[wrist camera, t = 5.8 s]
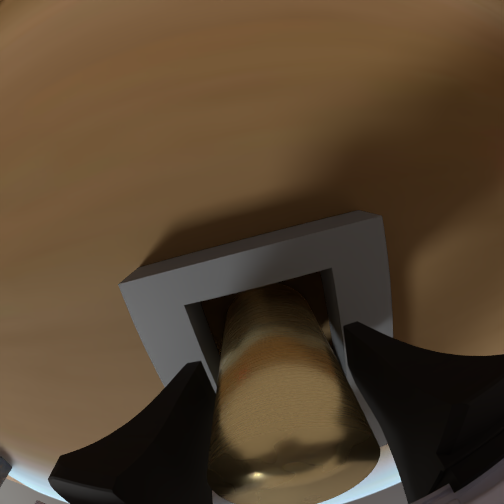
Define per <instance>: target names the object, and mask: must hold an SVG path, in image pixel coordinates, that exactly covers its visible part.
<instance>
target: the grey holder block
mask: <svg viewBox="0 0 504 504" xmlns="http://www.w3.org/2000/svg"><path fill="white" fill-rule="evenodd" d="M318 271H320V273H321V278H322V283H323V289H324V294H325V300H326V306H327V312H328V318H329V324H330V330H331V337H332V344H333V350H334V354H335V356H336V358H337V360H338V362H339V364H340V366H341V368H342V370H343V372H344V374H345V376H346V378H347V380H348V382H349V384H350V386H351V388H352V390H353V392H354V394H355V396H356V398H357V400H358V402H359V404H360V406H361V408H362V411H363V413H364V415H365V417H366V419H367V421H368V423H369V425H370V427H371V429H372V431H373V433H374V435H375V438H376V440H377V442H378V444H379V447H381V446H384V445H386V444H387V440H386V438H385V436H384V433H383V431H382V429H381V427H380V425H379V423H378V421H377V419H376V418H375V416H374V414H373V413H372V411H371V409H370V408H369V406H368V404H367V403H366V401H365V399H364V398H363V396H362V394H361V393H360V391H359V389H358V387H357V386H356V384H355V382H354V379H353V377H352V375H351V372H350V370H349V367H348V364H347V355H346V346H345V338H344V330H343V326H344V325H347V324H350V323H353V322H356V321H358V322H360V323H362V324H364V325H366V326H368V327H370V328H372V329H374V330H377V331H379V332H381V333H383V334H385V335H387V336H389V337H392V338H393V318H392V299H391V285H390V274H389V264H388V255H387V247H386V239H385V232H384V225H383V219H382V216H381V215H377V214H373V213H369V212H364V211H360V210H357V211H353V212H349V213H345V214H341V215H337V216H333V217H329V218H325V219H321V220H317V221H313V222H309V223H305V224H301V225H297V226H293V227H289V228H285V229H281V230H277V231H273V232H270V233H266V234H262V235H258V236H254V237H250V238H247V239H243V240H239V241H235V242H231V243H227V244H224V245H220V246H216V247H212V248H209V249H205V250H201V251H197V252H194V253H190V254H186V255H183V256H179V257H175V258H172V259H168V260H164V261H161V262H157V263H153V264H150V265H146V266H142V267H139V268H137V269H136V270H135V271H134V272H132V273H131V274H130V275H129V276H128V277H126V278H125V279H124V280H123V281H122V282H120V283H119V284H118V285H119V288H120V290H121V293H122V295H123V298H124V301H125V303H126V306H127V308H128V310H129V313H130V315H131V318H132V320H133V322H134V325H135V327H136V329H137V331H138V334H139V336H140V338H141V340H142V342H143V345H144V347H145V349H146V351H147V353H148V355H149V357H150V359H151V361H152V363H153V365H154V367H155V369H156V371H157V373H158V375H159V377H160V379H161V381H162V383H163V385H164V386H165V387H166V386H167V385H168V384H169V383H170V381H171V380H172V379H173V378H174V377H175V376H176V375H177V373H178V372H179V371H180V370H181V369H182V368H183V367H184V366H185V365H186V364H187V363H190V362H196V361H201V362H202V364H203V366H204V369H205V371H206V373H207V376H208V378H209V380H210V382H211V385H212V387H213V389H214V391H215V393H216V390H217V382H218V374H219V366H220V355H219V352H218V350H217V347H216V345H215V342H214V339H213V337H212V334H211V331H210V328H209V326H208V323H207V320H206V317H205V314H204V312H203V309H202V306H201V303H200V301H204V300H208V299H213V298H217V297H221V296H225V295H229V294H233V293H237V292H242V291H246V290H250V289H253V288H257V287H261V286H265V285H269V284H273V283H277V282H281V281H284V280H288V279H292V278H296V277H299V276H303V275H307V274H311V273H314V272H318Z"/></svg>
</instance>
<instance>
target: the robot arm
mask: <svg viewBox="0 0 504 504" xmlns="http://www.w3.org/2000/svg"><path fill="white" fill-rule="evenodd" d="M343 330H344V338H345V346H346V355H347V364H348V367H349V370H350V372H351V375H352V377H353V379H354V382H355V384H356V386H357V387H358V389H359V391H360V393H361V394H362V396H363V398H364V399H365V401H366V403H367V404H368V406H369V408H370V409H371V411H372V413H373V414H374V416H375V418H376V419H377V421H378V423H379V425H380V427H381V429H382V431H383V433H384V436H385V438H386V440H387V443H388V445H389V448H390V450H391V453H392V455H393V458H394V461H395V463H396V466H397V469H398V472H399V475H400V478H401V481H402V483H403V487H404V490H405V494H406V497H407V501H408V504H504V354H502V355H492V356H463V355H453V354H446V353H440V352H435V351H431V350H427V349H423V348H419V347H416V346H413V345H410V344H407V343H404V342H401V341H399V340H397V339H394V338H392V337H389V336H387V335H385V334H383V333H381V332H379V331H377V330H374V329H372V328H370V327H368V326H366V325H364V324H362V323H360V322H358V321H356V322H353V323H350V324H347V325H344V326H343ZM215 398H216V393H215V391H214V389H213V387H212V385H211V382H210V380H209V378H208V376H207V373H206V371H205V369H204V366H203V364H202V362H201V361H196V362H190V363H187V364H186V365H185V366H184V367H183V368H182V369H181V370H180V371H179V372H178V373H177V375H176V376H175V377H174V378H173V379H172V380H171V381H170V383H169V384H168V385H167V386H166V387H165V388H164V389H163V390H162V392H161V393H160V394H159V395H158V396H157V397H156V398H155V399H154V400H153V401H152V402H151V403H150V404H149V405H148V406H147V407H146V408H145V409H143V410H142V411H141V412H140V413H139V414H138V415H137V416H135V417H134V418H133V419H132V420H130V421H129V422H128V423H126V424H125V425H123V426H122V427H120V428H119V429H117V430H116V431H114V432H113V433H111V434H110V435H108V436H106V437H104V438H103V439H101V440H99V441H97V442H95V443H93V444H91V445H88V446H86V447H84V448H81V449H79V450H76V451H73V452H70V453H67V454H64V455H61V456H60V457H59V459H58V461H57V463H56V465H55V467H54V469H53V470H52V472H51V474H50V476H49V478H48V480H49V483H50V485H51V487H52V488H53V489H54V490H55V491H56V492H57V493H58V494H59V495H60V496H61V497H63V498H64V499H65V500H66V501H67V502H69V503H70V504H213V503H212V489H211V487H210V486H209V484H208V481H207V467H208V458H209V449H210V440H211V431H212V423H213V414H214V406H215ZM35 504H45V503H43V502H40V501H36V503H35Z"/></svg>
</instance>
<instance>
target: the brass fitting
mask: <svg viewBox="0 0 504 504" xmlns="http://www.w3.org/2000/svg"><path fill="white" fill-rule="evenodd" d="M379 457H380V447H379V444H378V442H377V440H376V438H375V435H374V433H373V431H372V429H371V427H370V425H369V423H368V421H367V419H366V417H365V415H364V413H363V411H362V408H361V406H360V404H359V402H358V400H357V398H356V396H355V394H354V392H353V390H352V388H351V386H350V384H349V382H348V380H347V378H346V376H345V374H344V372H343V370H342V368H341V366H340V364H339V362H338V360H337V358H336V356H335V354H334V352H333V350H332V349H331V347H330V345H329V343H328V341H327V339H326V337H325V335H324V333H323V331H322V329H321V327H320V325H319V323H318V321H317V320H316V318H315V316H314V314H313V312H312V310H311V308H310V306H309V304H308V303H307V301H306V299H305V298H304V297H303V296H302V295H301V294H300V293H299V292H297V291H296V290H295V289H293V288H291V287H289V286H286V285H282V284H277V283H273V284H269V285H265V286H261V287H257V288H253V289H250V290H246V291H243V292H242V293H241V294H239V295H238V296H237V297H236V298H235V299H234V301H233V302H232V303H231V305H230V307H229V309H228V311H227V315H226V320H225V328H224V335H223V343H222V350H221V358H220V366H219V374H218V382H217V390H216V398H215V406H214V414H213V423H212V431H211V440H210V449H209V458H208V467H207V481H208V484H209V486H210V487H211V489H212V490H213V491H214V492H215V493H216V494H218V495H219V496H220V497H222V498H224V499H226V500H228V501H230V502H232V503H235V504H317V503H320V502H323V501H326V500H329V499H331V498H334V497H336V496H338V495H340V494H342V493H344V492H346V491H348V490H350V489H351V488H353V487H354V486H356V485H357V484H359V483H360V482H361V481H362V480H364V479H365V478H366V477H367V476H368V475H369V474H370V473H371V472H372V470H373V469H374V468H375V466H376V464H377V462H378V460H379Z"/></svg>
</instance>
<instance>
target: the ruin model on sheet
mask: <svg viewBox="0 0 504 504" xmlns="http://www.w3.org/2000/svg"><path fill="white" fill-rule="evenodd" d="M11 469H12V467H11V466H10V465H9V464H8V463H7V462H6V461H5V460H4V459H3V458H2V457H0V487H1V485H2V483H3V482H4V480H5V478H7V479H9V480H12V481H14V482H16V483H19V484H22V483H21V482H19V481H18V480H16V479H14V478H13V477H11V476H9V475H8V474H9V472H10V470H11ZM22 485H24V484H22ZM24 486H26V485H24Z"/></svg>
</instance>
